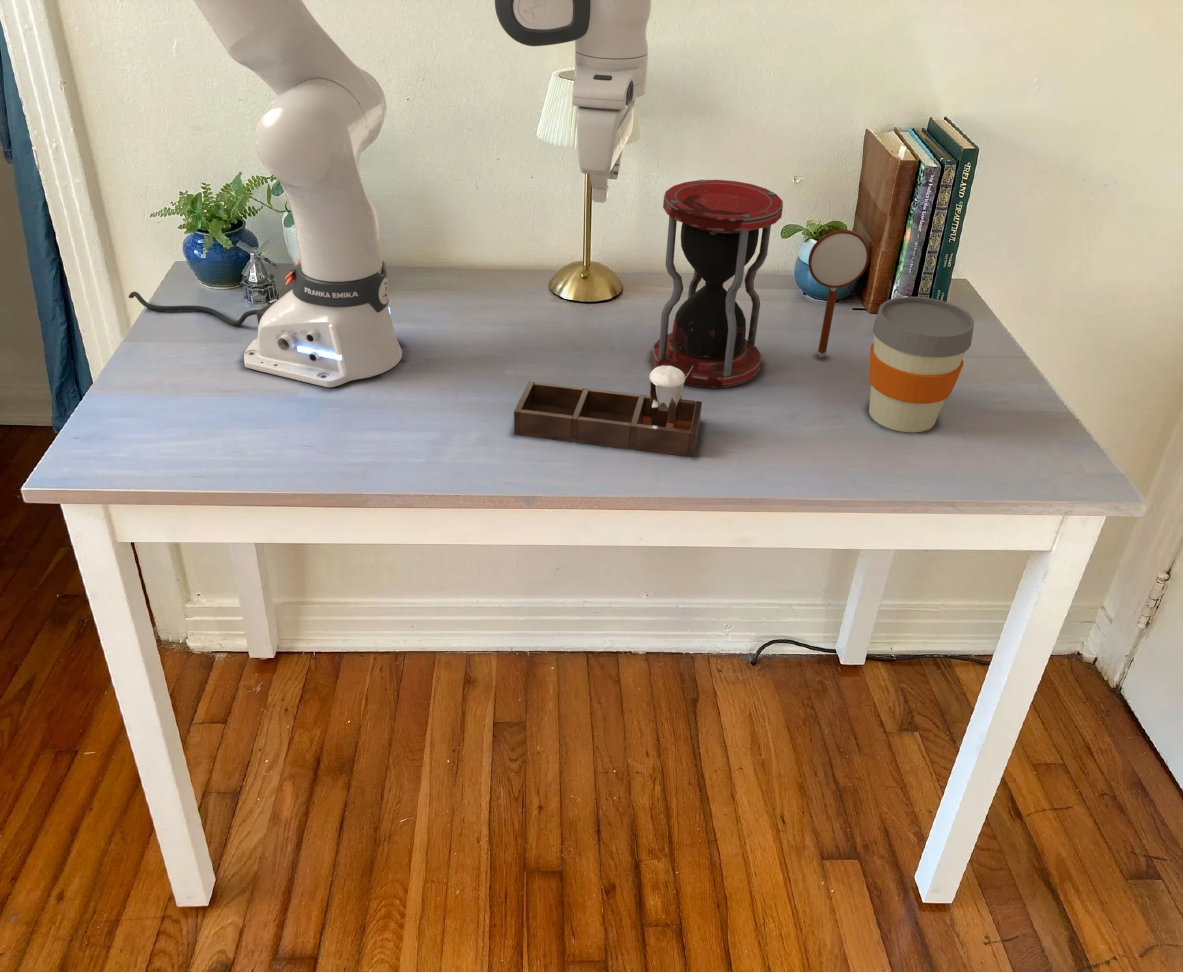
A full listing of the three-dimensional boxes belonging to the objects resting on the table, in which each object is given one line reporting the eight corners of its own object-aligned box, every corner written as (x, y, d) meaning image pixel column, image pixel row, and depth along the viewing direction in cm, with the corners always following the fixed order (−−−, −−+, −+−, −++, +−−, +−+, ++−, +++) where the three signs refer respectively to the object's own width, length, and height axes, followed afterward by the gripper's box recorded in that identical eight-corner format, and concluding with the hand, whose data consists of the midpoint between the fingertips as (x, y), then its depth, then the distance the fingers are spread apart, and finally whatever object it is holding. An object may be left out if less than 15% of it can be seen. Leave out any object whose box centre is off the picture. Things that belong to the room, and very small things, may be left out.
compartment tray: (514, 434, 131) (513, 411, 129) (529, 403, 138) (529, 380, 136) (693, 457, 128) (696, 434, 126) (699, 423, 135) (702, 401, 133)
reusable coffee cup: (965, 436, 134) (994, 335, 125) (877, 442, 132) (900, 339, 123) (924, 390, 144) (949, 293, 135) (842, 395, 142) (861, 297, 134)
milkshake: (683, 443, 129) (690, 374, 123) (642, 437, 130) (647, 369, 124) (688, 425, 133) (695, 358, 127) (648, 420, 134) (653, 353, 128)
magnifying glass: (793, 359, 151) (814, 231, 139) (791, 353, 152) (812, 226, 141) (850, 360, 151) (876, 232, 140) (848, 355, 152) (873, 228, 141)
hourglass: (636, 344, 153) (646, 182, 139) (732, 333, 157) (751, 174, 143) (676, 395, 141) (691, 223, 126) (778, 381, 145) (805, 212, 131)
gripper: (599, 56, 131) (596, 162, 139) (568, 94, 114) (566, 212, 122) (647, 60, 130) (641, 166, 138) (623, 98, 113) (617, 217, 121)
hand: (606, 188), depth 130 cm, fingers open, 8 cm apart
